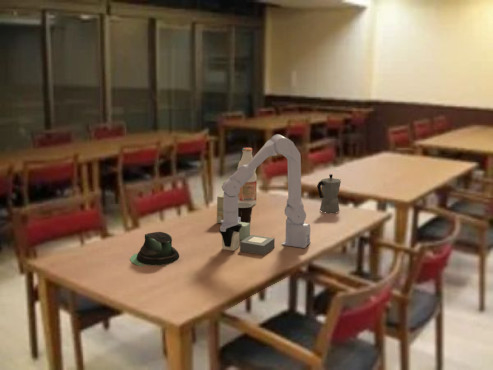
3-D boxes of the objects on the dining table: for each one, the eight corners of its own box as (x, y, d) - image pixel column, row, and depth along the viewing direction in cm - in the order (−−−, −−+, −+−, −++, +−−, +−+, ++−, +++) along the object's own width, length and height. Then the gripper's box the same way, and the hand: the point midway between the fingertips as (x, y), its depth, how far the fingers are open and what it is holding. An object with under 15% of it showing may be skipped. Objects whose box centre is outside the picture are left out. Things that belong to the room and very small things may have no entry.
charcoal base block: (274, 248, 229) (274, 238, 228) (263, 255, 221) (263, 245, 220) (251, 244, 234) (251, 234, 233) (240, 251, 225) (240, 241, 224)
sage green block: (250, 237, 242) (250, 223, 240) (245, 240, 237) (245, 226, 236) (238, 235, 243) (239, 221, 242) (233, 239, 239) (233, 224, 238)
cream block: (239, 246, 230) (239, 232, 228) (233, 250, 225) (233, 235, 224) (227, 245, 231) (227, 230, 230) (222, 248, 227) (222, 234, 226)
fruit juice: (233, 203, 294) (233, 148, 287) (247, 200, 300) (247, 146, 294) (246, 207, 287) (247, 150, 281) (260, 203, 293) (260, 148, 287)
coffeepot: (331, 206, 289) (333, 171, 285) (346, 210, 282) (347, 174, 277) (309, 212, 279) (310, 175, 275) (324, 216, 272) (325, 178, 268)
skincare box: (216, 223, 260) (216, 196, 258) (219, 220, 264) (219, 194, 262) (230, 224, 259) (230, 197, 256) (233, 221, 263) (233, 195, 260)
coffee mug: (239, 223, 260) (239, 201, 258) (256, 226, 256) (256, 204, 254) (224, 230, 251) (224, 207, 248) (242, 233, 246) (242, 210, 244)
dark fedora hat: (188, 250, 226) (188, 227, 224) (179, 269, 207) (178, 244, 204) (138, 248, 227) (137, 226, 225) (124, 267, 208) (123, 242, 206)
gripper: (229, 205, 233) (229, 237, 236) (212, 214, 220) (213, 248, 223) (245, 207, 230) (245, 239, 233) (229, 216, 217) (229, 251, 220)
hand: (230, 244), depth 228 cm, fingers closed on cream block, 5 cm apart
